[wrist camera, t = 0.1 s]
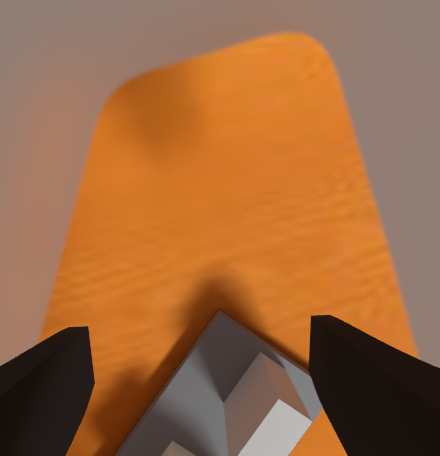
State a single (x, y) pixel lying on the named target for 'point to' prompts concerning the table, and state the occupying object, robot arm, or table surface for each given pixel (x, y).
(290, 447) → the gray plate with post
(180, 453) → the birch block
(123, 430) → the table surface
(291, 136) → the table surface
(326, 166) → the table surface
